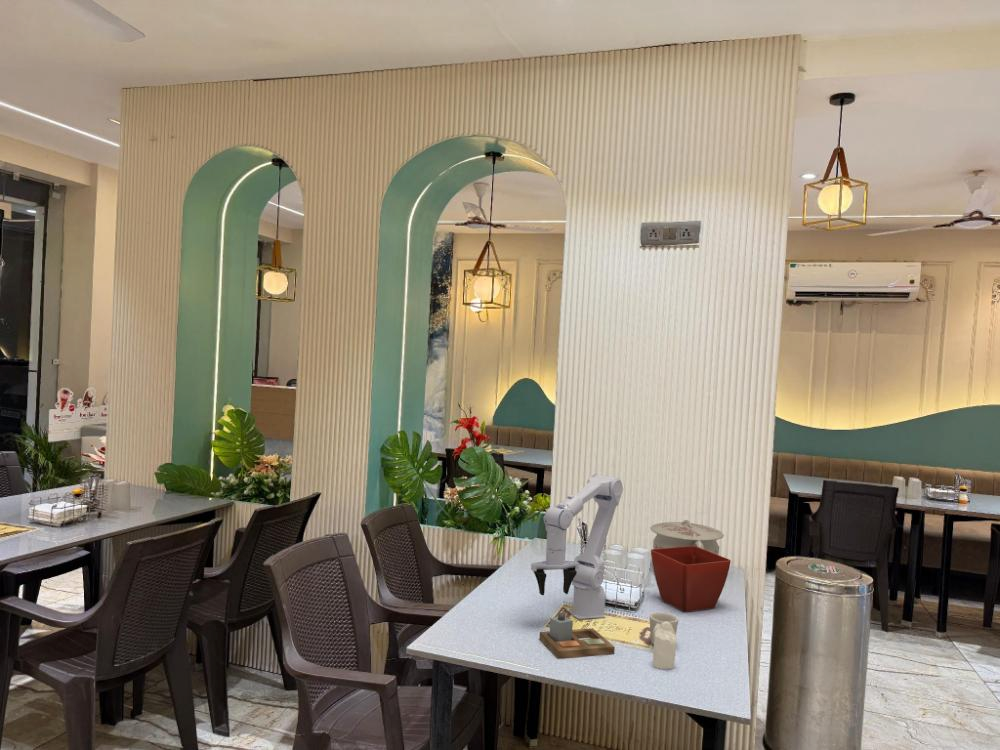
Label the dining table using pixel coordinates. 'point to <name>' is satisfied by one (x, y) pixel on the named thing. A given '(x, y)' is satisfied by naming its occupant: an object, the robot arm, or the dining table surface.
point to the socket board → (578, 644)
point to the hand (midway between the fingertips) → (553, 593)
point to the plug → (561, 628)
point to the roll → (664, 647)
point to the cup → (660, 618)
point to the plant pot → (689, 576)
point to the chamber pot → (686, 536)
